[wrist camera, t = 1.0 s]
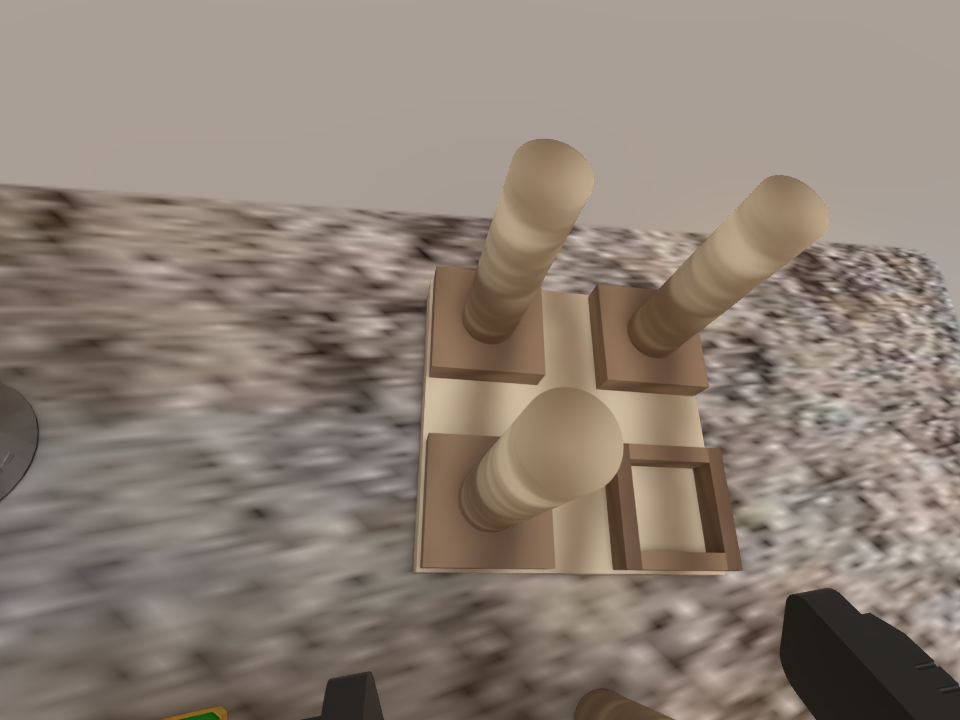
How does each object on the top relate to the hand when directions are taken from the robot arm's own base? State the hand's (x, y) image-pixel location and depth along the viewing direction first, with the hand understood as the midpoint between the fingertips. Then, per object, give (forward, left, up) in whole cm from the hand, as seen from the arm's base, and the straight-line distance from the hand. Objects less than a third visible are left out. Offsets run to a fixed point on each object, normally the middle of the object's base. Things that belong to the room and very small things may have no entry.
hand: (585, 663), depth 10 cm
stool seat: (+1, +15, -25) cm, 29 cm away
